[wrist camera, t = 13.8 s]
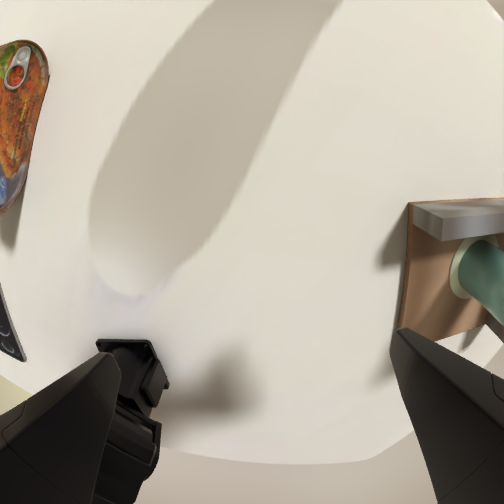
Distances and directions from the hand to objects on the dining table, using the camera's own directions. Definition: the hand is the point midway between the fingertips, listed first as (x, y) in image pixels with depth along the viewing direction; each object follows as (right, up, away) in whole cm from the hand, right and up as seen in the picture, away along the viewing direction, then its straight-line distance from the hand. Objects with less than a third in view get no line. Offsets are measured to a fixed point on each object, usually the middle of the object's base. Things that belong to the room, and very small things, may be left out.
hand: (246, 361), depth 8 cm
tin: (-20, +15, +9) cm, 27 cm away
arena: (+20, +1, +13) cm, 24 cm away
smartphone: (-34, -5, +17) cm, 39 cm away
